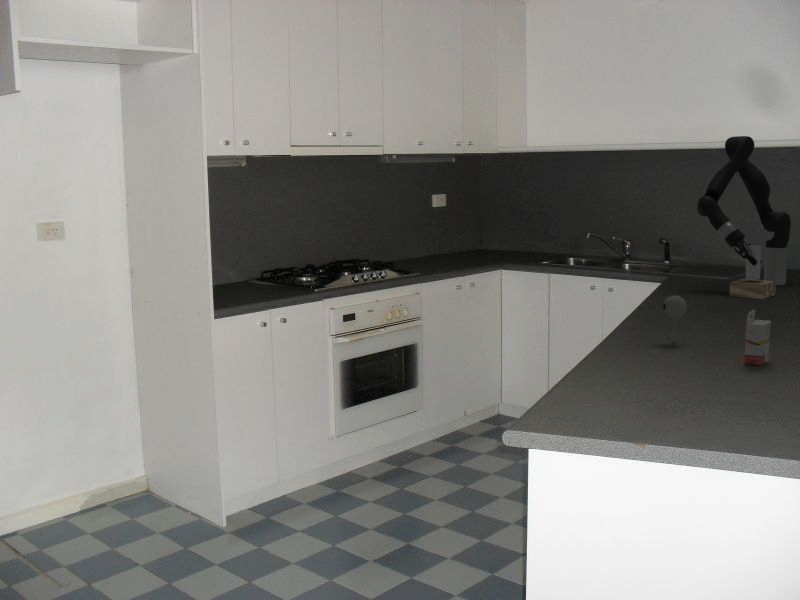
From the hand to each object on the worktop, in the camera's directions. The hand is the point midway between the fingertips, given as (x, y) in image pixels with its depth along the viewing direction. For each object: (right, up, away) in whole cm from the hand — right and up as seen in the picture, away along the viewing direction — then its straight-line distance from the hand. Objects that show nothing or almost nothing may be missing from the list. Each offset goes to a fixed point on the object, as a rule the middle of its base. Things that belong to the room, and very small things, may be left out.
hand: (758, 263), depth 373 cm
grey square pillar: (-1, -6, +2) cm, 7 cm away
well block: (-1, -13, +3) cm, 14 cm away
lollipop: (-64, -29, -91) cm, 115 cm away
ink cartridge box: (-49, -33, -121) cm, 135 cm away
